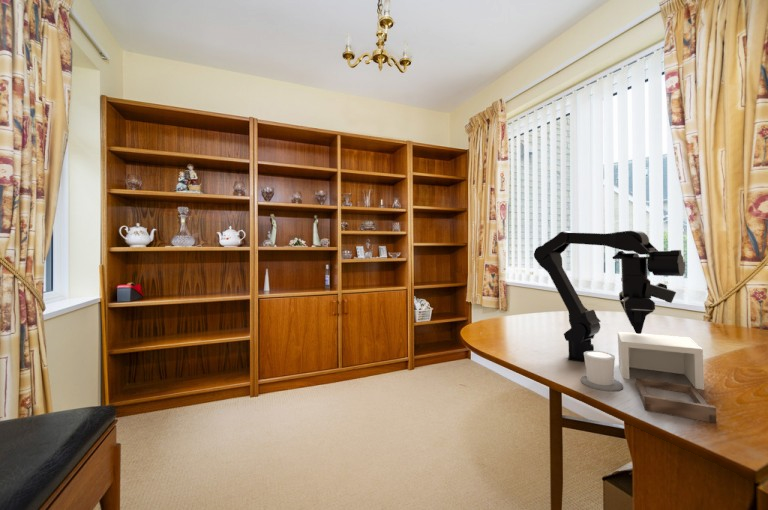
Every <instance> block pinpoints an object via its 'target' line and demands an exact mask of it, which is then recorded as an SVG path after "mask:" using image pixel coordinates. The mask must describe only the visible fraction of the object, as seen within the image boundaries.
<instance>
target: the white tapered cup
mask: <svg viewBox="0 0 768 510" xmlns="http://www.w3.org/2000/svg"><path fill="white" fill-rule="evenodd" d="M584 359H585V362H584V365H585V371H586V376H587V380H588V381H590V382H592V383H595V384H599V385H611V384H613V379H614V373H615V372H614V371H615V361H616V360H615V359H616V357H615V355H613V354H612V353H609V352H605V351H600V350H598V351H597V350H594V351H586V352H584Z"/></svg>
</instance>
